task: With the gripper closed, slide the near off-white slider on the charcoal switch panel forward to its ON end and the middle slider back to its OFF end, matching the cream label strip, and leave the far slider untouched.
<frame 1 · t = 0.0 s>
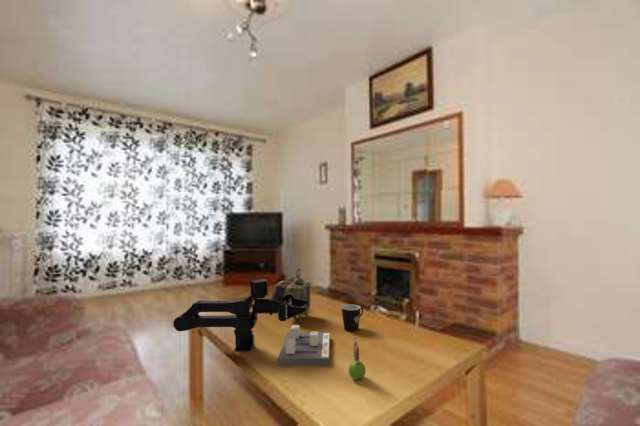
hand: (307, 305, 129), 17 cm above the table, tool horizontal, fingers open, 9 cm apart
far slider: (295, 331, 133), point 5 cm above the table, slide at 0.0 cm
snail figurine: (357, 378, 105), on the table
coffee mug: (354, 329, 148), on the table
tabletop clock: (298, 319, 163), on the table
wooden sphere: (286, 307, 183), on the table
switch panel: (306, 350, 126), on the table
near slider: (291, 346, 119), point 5 cm above the table, slide at 0.0 cm
middle slider: (313, 338, 126), point 5 cm above the table, slide at 8.0 cm
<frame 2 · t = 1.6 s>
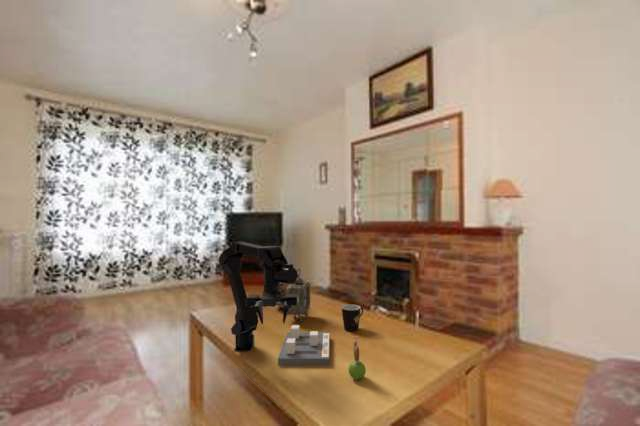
hand: (273, 323, 120), 13 cm above the table, tool pointing down, fingers open, 8 cm apart
nothing on the table moved.
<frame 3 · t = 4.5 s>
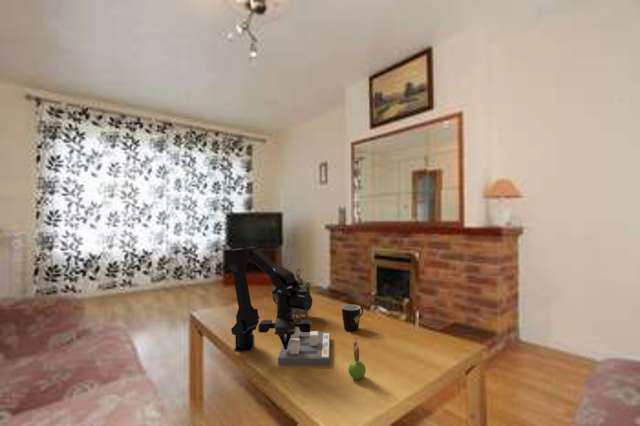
hand: (285, 349, 119), 4 cm above the table, tool pointing down, fingers closed
near slider: (295, 345, 119), point 5 cm above the table, slide at 1.5 cm, touching gripper
everything else where it was.
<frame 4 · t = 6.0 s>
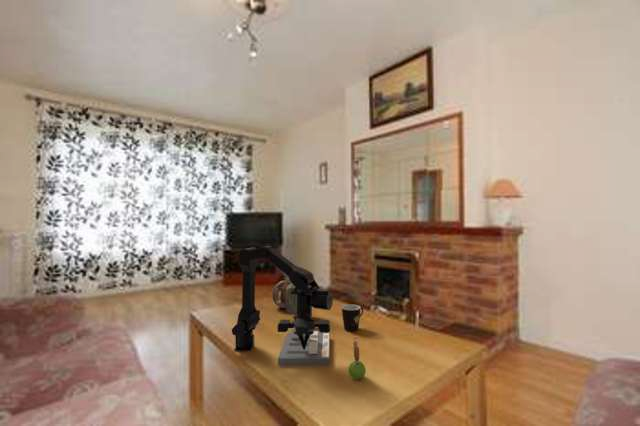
hand: (304, 349, 119), 4 cm above the table, tool pointing down, fingers closed
near slider: (313, 345, 119), point 5 cm above the table, slide at 8.2 cm, touching gripper
everything else where it was.
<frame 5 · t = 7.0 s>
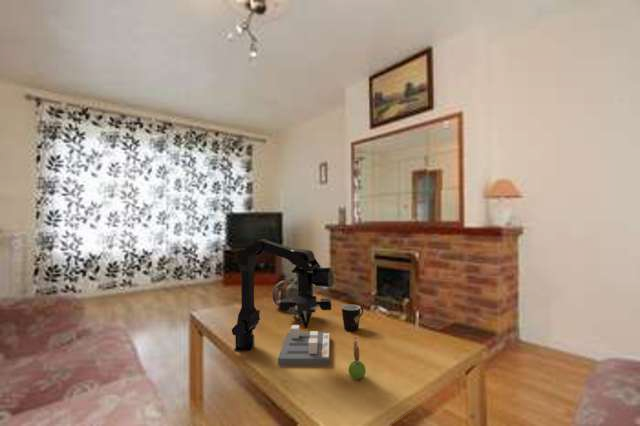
hand: (306, 327, 119), 11 cm above the table, tool pointing down, fingers closed
near slider: (313, 345, 119), point 5 cm above the table, slide at 8.1 cm
everything else where it was.
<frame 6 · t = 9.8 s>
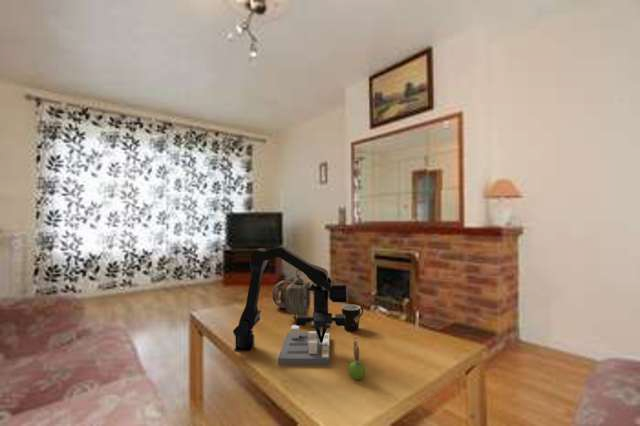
hand: (321, 342, 126), 3 cm above the table, tool pointing down, fingers closed
middle slider: (312, 338, 126), point 5 cm above the table, slide at 7.3 cm, touching gripper
everything else where it was.
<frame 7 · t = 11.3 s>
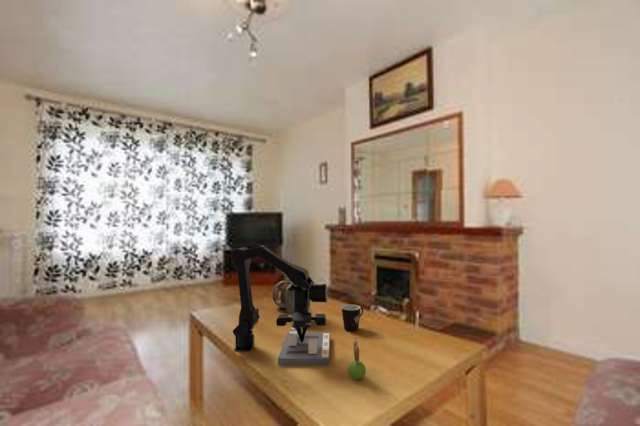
hand: (302, 341, 126), 3 cm above the table, tool pointing down, fingers closed
middle slider: (293, 338, 126), point 5 cm above the table, slide at -0.1 cm, touching gripper
everything else where it was.
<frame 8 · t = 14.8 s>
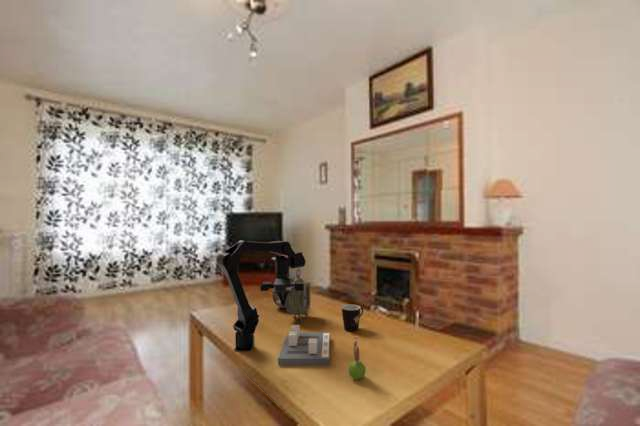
hand: (283, 305, 141), 13 cm above the table, tool pointing down, fingers closed
middle slider: (293, 338, 126), point 5 cm above the table, slide at -0.1 cm
everything else where it was.
at the end: near slider slide at 8.1 cm; middle slider slide at -0.1 cm; far slider slide at 0.0 cm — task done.
